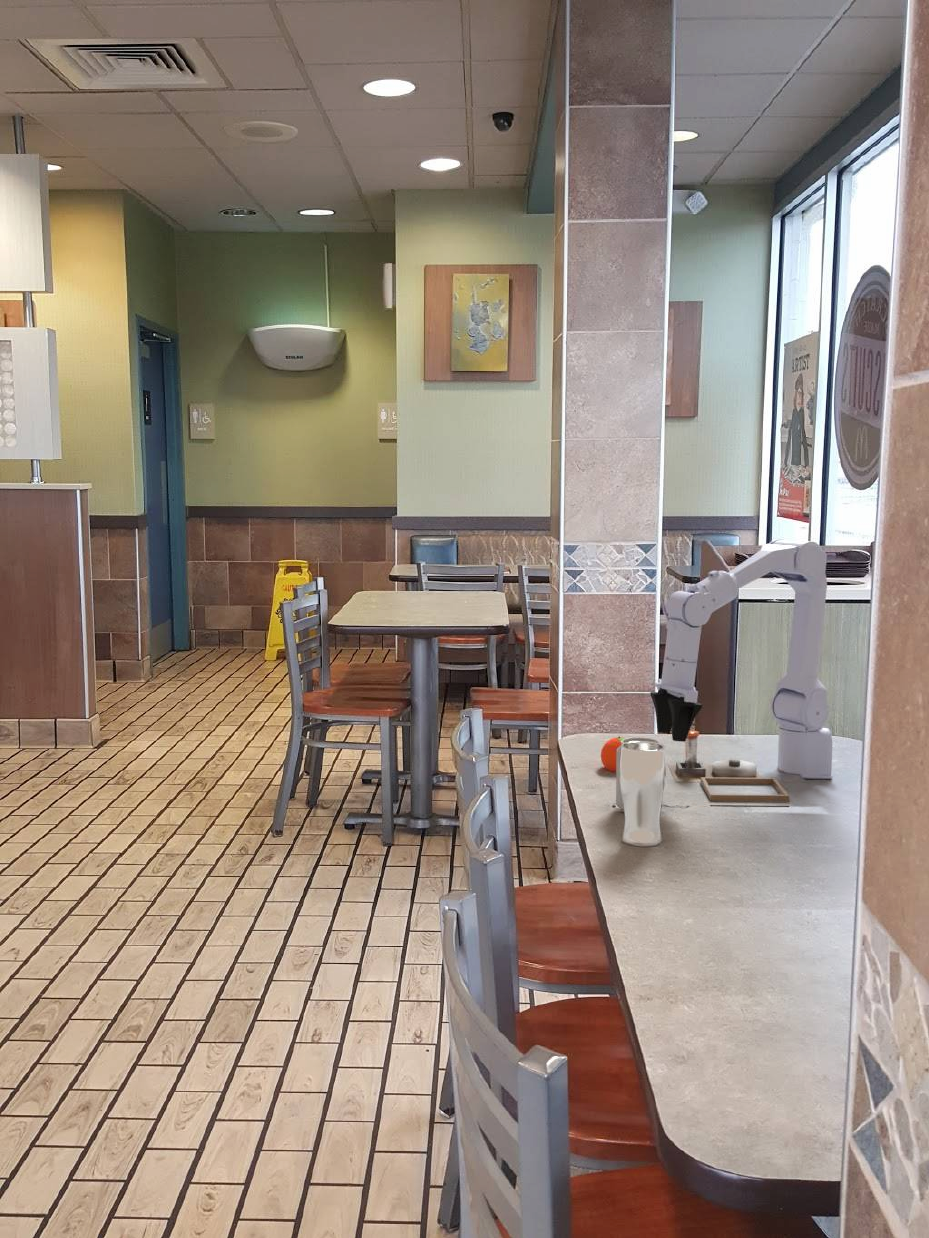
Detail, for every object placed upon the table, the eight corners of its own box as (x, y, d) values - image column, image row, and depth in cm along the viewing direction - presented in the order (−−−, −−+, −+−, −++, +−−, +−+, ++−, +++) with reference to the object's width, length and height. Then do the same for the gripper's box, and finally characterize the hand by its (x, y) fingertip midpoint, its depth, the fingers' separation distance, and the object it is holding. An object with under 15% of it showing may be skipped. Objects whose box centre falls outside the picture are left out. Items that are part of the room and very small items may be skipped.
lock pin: (697, 771, 210) (697, 730, 209) (699, 775, 207) (700, 733, 206) (682, 771, 210) (682, 730, 209) (684, 775, 207) (684, 733, 206)
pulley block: (752, 770, 214) (752, 753, 213) (765, 788, 202) (765, 769, 201) (667, 769, 214) (667, 752, 214) (675, 787, 203) (675, 768, 202)
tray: (774, 788, 201) (775, 777, 201) (789, 807, 190) (789, 795, 190) (700, 788, 202) (700, 777, 202) (710, 806, 191) (710, 794, 191)
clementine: (648, 772, 213) (649, 735, 212) (633, 781, 207) (634, 743, 206) (610, 767, 217) (610, 731, 216) (594, 775, 211) (594, 738, 210)
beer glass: (667, 835, 176) (669, 742, 174) (660, 849, 169) (662, 752, 167) (623, 831, 178) (624, 739, 176) (614, 845, 171) (615, 749, 169)
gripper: (645, 653, 202) (636, 727, 203) (673, 663, 188) (663, 743, 189) (682, 656, 204) (673, 730, 204) (713, 667, 189) (703, 746, 190)
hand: (671, 736), depth 197 cm, fingers open, 7 cm apart
